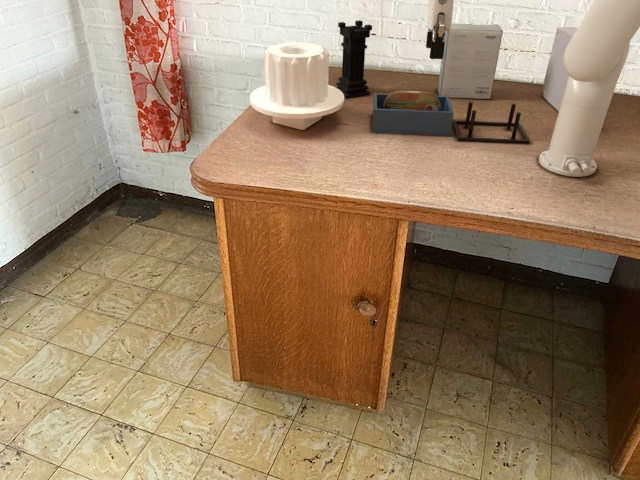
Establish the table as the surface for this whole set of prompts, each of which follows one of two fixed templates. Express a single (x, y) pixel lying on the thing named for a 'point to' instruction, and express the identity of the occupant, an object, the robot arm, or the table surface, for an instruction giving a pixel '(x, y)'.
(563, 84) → the game console
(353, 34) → the chess piece
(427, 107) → the tin
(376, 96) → the open box
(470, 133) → the rack
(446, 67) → the hard drive box
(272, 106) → the flanged gear
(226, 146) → the table surface
